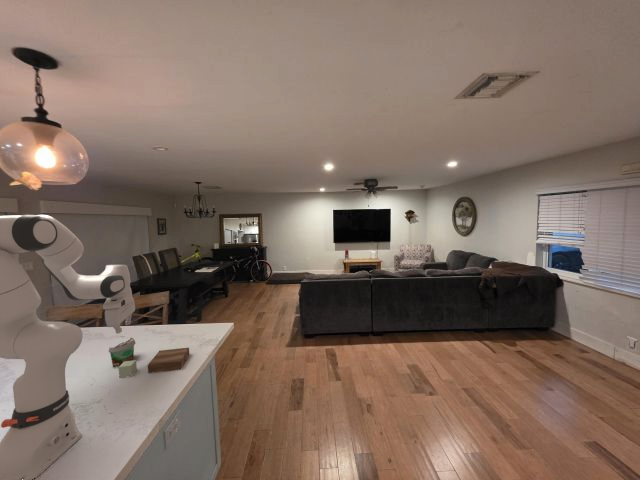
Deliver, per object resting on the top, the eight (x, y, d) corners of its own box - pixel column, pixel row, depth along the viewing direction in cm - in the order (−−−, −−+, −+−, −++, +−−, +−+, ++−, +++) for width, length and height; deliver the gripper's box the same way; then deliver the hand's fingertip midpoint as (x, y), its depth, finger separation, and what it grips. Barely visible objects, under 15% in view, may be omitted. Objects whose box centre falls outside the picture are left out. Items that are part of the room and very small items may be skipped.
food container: (120, 369, 126) (118, 349, 126) (109, 368, 127) (108, 348, 127) (142, 356, 138) (141, 337, 138) (132, 355, 139) (131, 337, 139)
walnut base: (181, 369, 125) (180, 361, 125) (148, 373, 122) (147, 365, 122) (189, 354, 139) (189, 347, 138) (159, 358, 136) (159, 350, 136)
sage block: (131, 376, 120) (130, 365, 120) (119, 377, 119) (118, 367, 119) (137, 370, 125) (136, 360, 125) (125, 371, 124) (124, 361, 124)
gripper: (122, 293, 129) (125, 320, 130) (100, 307, 109) (104, 339, 110) (137, 291, 130) (140, 318, 132) (118, 305, 111) (121, 337, 112)
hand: (123, 328), depth 121 cm, fingers open, 8 cm apart
